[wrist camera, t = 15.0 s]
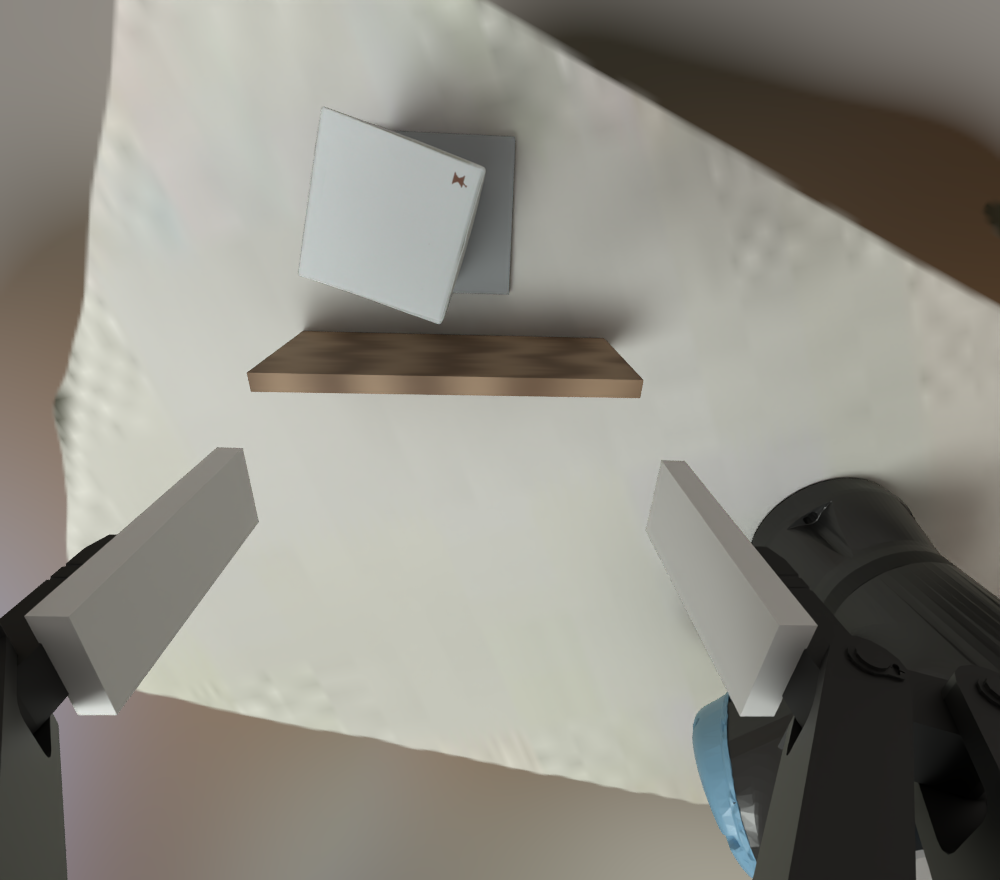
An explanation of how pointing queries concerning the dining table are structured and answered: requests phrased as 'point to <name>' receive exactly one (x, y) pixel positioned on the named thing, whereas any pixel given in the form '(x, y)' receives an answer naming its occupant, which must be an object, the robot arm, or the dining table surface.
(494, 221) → the mat
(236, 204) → the dining table surface
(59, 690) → the robot arm
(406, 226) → the supplement box
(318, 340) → the walnut screen
